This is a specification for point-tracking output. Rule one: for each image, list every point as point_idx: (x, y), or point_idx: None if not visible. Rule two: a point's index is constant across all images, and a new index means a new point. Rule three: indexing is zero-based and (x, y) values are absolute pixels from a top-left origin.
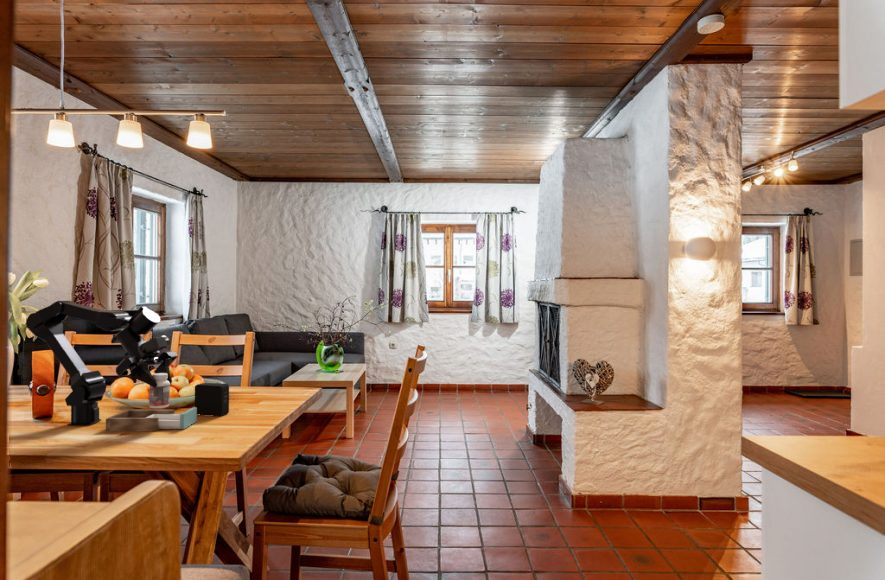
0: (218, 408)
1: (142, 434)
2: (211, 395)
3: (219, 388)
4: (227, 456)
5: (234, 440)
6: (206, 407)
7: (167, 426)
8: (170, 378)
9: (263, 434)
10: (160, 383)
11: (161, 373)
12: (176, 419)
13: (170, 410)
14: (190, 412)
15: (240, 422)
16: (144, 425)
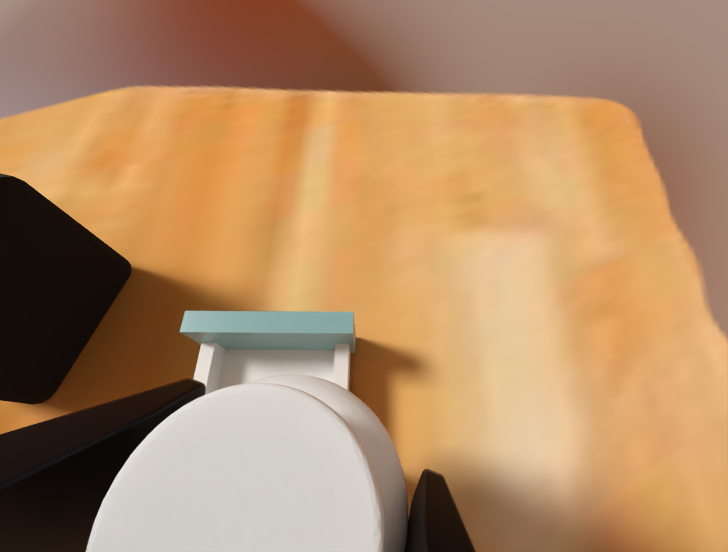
0: (102, 262)
1: None
2: (16, 267)
3: (11, 192)
4: (629, 117)
5: (482, 140)
6: (58, 324)
7: None
8: (155, 398)
9: (411, 95)
10: (383, 445)
11: (166, 536)
12: None
13: None
14: (274, 314)
15: (255, 179)
16: None
